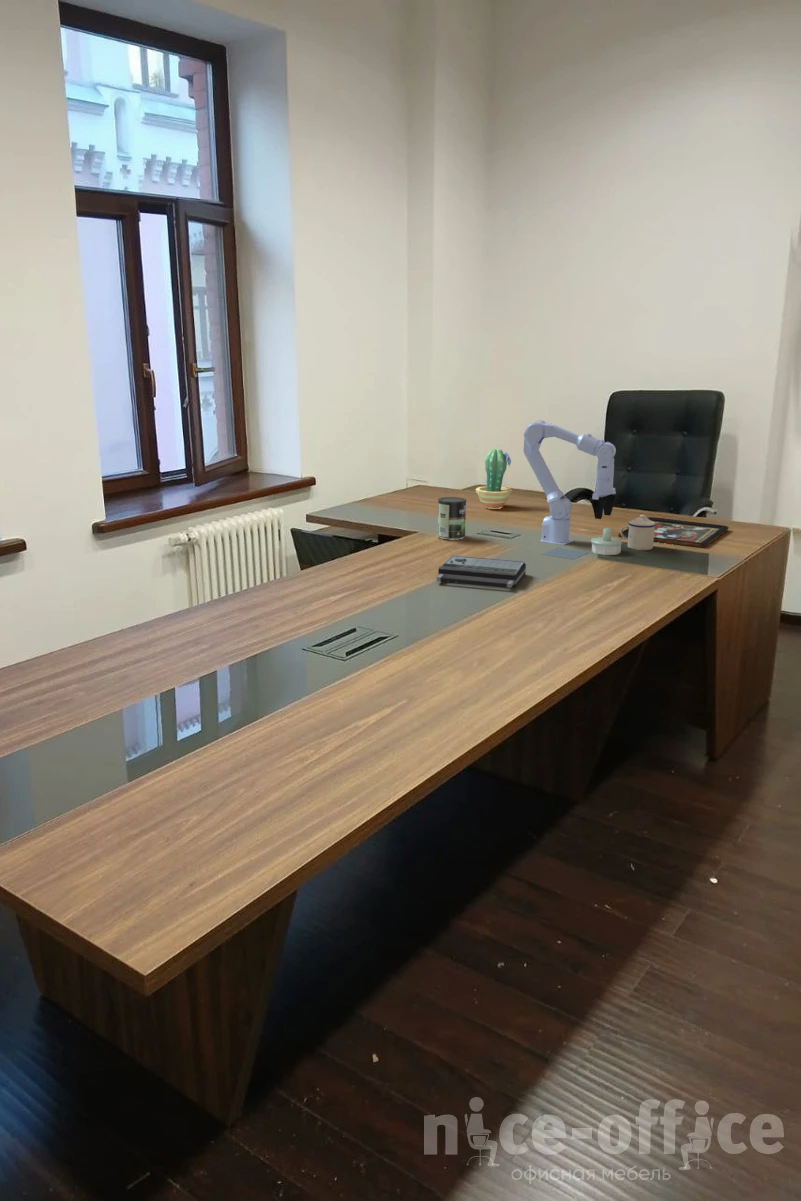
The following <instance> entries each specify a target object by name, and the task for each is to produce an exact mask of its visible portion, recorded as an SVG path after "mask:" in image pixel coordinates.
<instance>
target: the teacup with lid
mask: <svg viewBox="0 0 801 1201" xmlns="http://www.w3.org/2000/svg"><path fill="white" fill-rule="evenodd" d="M625 528H626V529H628V528H629V534H628V537H625V536H624V534H623V531H624V529H625ZM654 529H655V522H653V521H651V520H649V519H648V517H647V516H646V515H645V514H640V515H639V517H637V518H634V519H631V520H629V522H628V525H623V526H622V527H621V528H620V529H619V530H620V531H619V533H620V534H621V536H622V537H623V538H622V539H624V540H627V548H628V549H630V548H631V549H630V550H636V551H650V550H653V548H654V542H653V540H654Z"/></svg>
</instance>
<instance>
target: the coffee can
mask: <svg viewBox="0 0 801 1201" xmlns="http://www.w3.org/2000/svg"><path fill="white" fill-rule="evenodd" d="M437 503H438V504H437V505H438V507H437V537H438V536H439V537H441V538H446V539H460V538H464V537H465V538H466V518H467V517H466V514H467V512H466V511H467V499H466V498H464V497H456V496H448V497H447V496H445V497H440V498H438V499H437ZM465 538H464V539H465Z"/></svg>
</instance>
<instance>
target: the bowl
mask: <svg viewBox="0 0 801 1201" xmlns="http://www.w3.org/2000/svg"><path fill="white" fill-rule="evenodd" d="M621 551H622V544H621V545H619V546H600V545H595V544H593V543H591V552H593V553H594V554H597V555H603V556H613V555H614V556H616V555H619V554H621Z"/></svg>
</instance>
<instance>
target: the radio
mask: <svg viewBox="0 0 801 1201" xmlns="http://www.w3.org/2000/svg"><path fill="white" fill-rule="evenodd" d="M525 562H526V561H521V560H510V559H501V558H500V559H497V558H495V559H494V558H487V557H475V556H474V557H473V556H463V555H451V556H450V557H449V558H448V559H447V560H445V562H443V563H442V564H441V565H439V566H438V571H437V572H438V573H437V574H438V575H437V576H436V581H437V582H441V581H442V582H447V583H450V582H451V583H455V584H458V583H461V584H462V583H463V584H473V585H485V586H493V587H494V586H496V587H504V588H508V589H509V588H510V589H511V588H517V587H518V586H519V584H520V583H521V581H522V580H523V578H524V577H525V576H526V574H527V573H526V570H527V563H525Z"/></svg>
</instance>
